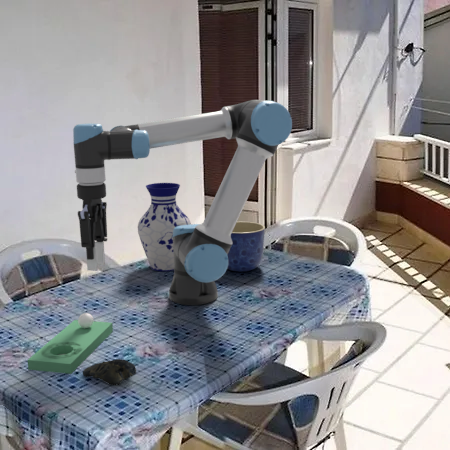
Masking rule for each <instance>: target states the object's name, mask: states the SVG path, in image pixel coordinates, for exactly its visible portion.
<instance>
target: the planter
mask: <svg viewBox="0 0 450 450" xmlns="http://www.w3.org/2000/svg"><path fill="white" fill-rule="evenodd" d="M265 233H266V226H265V225H263V224H262V223H258V222H253V221H252V222H251V221H237V222H236V224H235V227H234V229H233V231H232V233H231V240H232V242H233V243H232V246H231V248H230V250H229V252H228V255H227V256H228V267H227V270H230V271H233V272H249V271H253V270H255V269H256V268H257V267H259V265H260V264H261V262H262V261H263V260H262V259H263V256H264V246H265Z"/></svg>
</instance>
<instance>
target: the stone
mask: <svg viewBox="0 0 450 450" xmlns="http://www.w3.org/2000/svg"><path fill="white" fill-rule="evenodd" d="M136 374H137V367H136V365H135V364H134V363H133V362H130V361H128V360H126V359H121V358H117V359H112V360H108V361H102V362H99V363H95V364H93V365H90V366H87V367H86V368H84V370H82V376H83V377H85V378H89V377H91V378H93V379H96V380H97V379H98V380H102V381H103V382H104V383H106V384H108V385H110V386H120V385H121V383H122V382H123V381H125V380H126V379H130V378H131V377H133V376H134V375H136Z"/></svg>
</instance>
